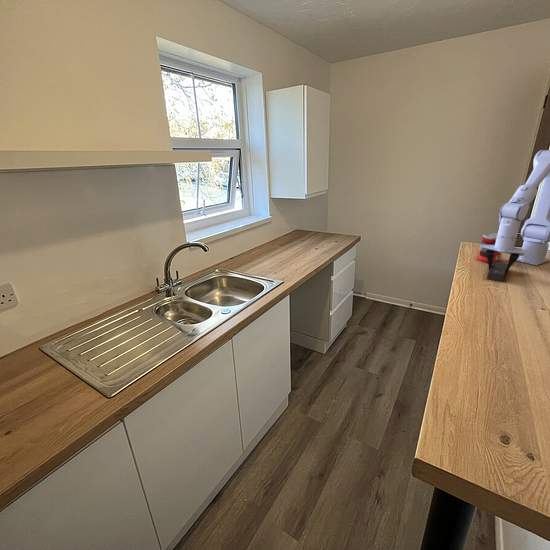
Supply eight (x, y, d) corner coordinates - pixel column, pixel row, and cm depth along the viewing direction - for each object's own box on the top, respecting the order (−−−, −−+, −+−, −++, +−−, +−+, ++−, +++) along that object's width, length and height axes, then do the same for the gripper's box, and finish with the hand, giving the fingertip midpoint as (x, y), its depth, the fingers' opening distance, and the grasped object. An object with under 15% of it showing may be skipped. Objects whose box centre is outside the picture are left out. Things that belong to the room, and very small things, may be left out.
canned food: (497, 258, 131) (503, 233, 126) (500, 264, 124) (507, 238, 120) (476, 256, 134) (481, 232, 129) (479, 262, 127) (484, 237, 123)
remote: (492, 267, 121) (494, 261, 120) (506, 269, 118) (508, 263, 117) (486, 278, 112) (488, 271, 111) (501, 281, 109) (503, 274, 108)
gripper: (481, 235, 111) (473, 269, 116) (531, 241, 102) (520, 278, 107) (484, 231, 116) (477, 264, 121) (532, 237, 107) (522, 272, 112)
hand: (497, 270), depth 115 cm, fingers closed on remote, 4 cm apart
